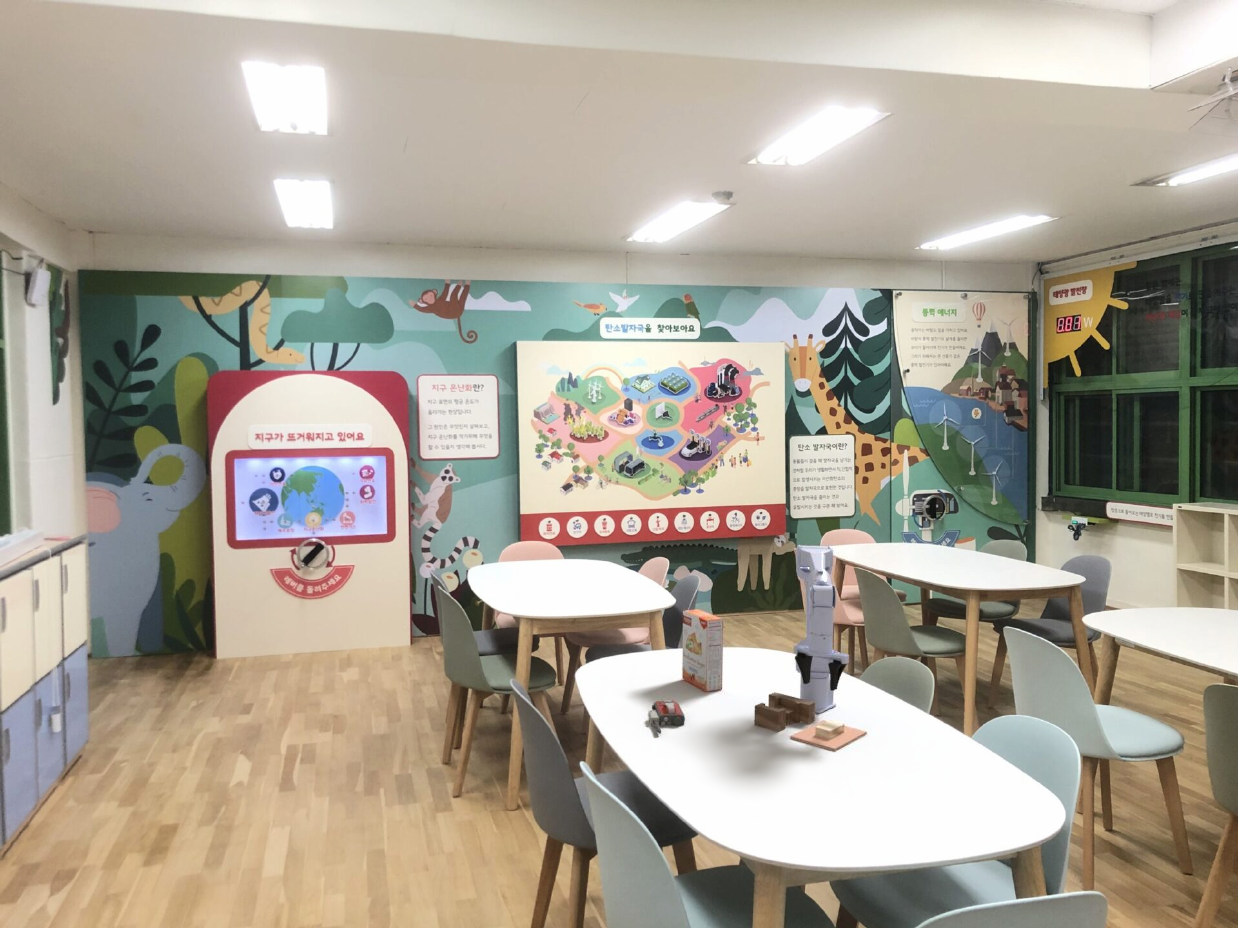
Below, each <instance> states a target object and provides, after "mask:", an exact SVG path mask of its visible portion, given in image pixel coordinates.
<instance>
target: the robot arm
mask: <svg viewBox="0 0 1238 928" xmlns="http://www.w3.org/2000/svg"><path fill="white" fill-rule="evenodd" d="M795 549H796V550H795V566H796V567H795V568H796V570H795V572H796V576H797V577H799V578H800V579H802V580H803V584H804V588H805V634H806V635H805V638H803V639H802V640H801V641H798V642H797V644H796V645H793V654H795V656H794V660H795V671H796V672H797V673H799V674H800V685H799V686H800V690H799V698H800V699H804V700H808V701H812V702H815V714H821V713H823V712H825V710H826V711H827V710H830V709H832V708H835V707H836V706H837V703H834V693H835V692H834V691H836V690H838V685H839V681H840V679H841V676H842V674H843V672H844V670H845V668H846V667H847V665H848V664H849V662H850V654H846V653H842V652H839V651H837V650H834V646H833V644H834V641H833V640H834V614H835V613H834V610H835V608H836V605H837V590H836V585H835V584H832V579H831V574H832V568H833V566H834V549H833V547H832V546H831V545H827V546H826V545H801V544H797V546H796V548H795Z"/></svg>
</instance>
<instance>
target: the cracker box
mask: <svg viewBox="0 0 1238 928" xmlns="http://www.w3.org/2000/svg"><path fill="white" fill-rule="evenodd" d="M723 652H724V618H721V617H720V616H716V615H715V614H712V613H709V612H707V611H704V610H703V609H698V608H697V609H688V610H687V609H686V610H683V611H682V662H681V663H682V669H681V670H682V673H681V674H682V676H681V677H682V678H681V679H682V680H684V681H686V682H688V683H689V684H691V685H693V686H695V687H697V688H698V689H700V690H701V691H704V692H705V693H708V692H714V691H721V690H723V671H724V670H723V668H724V667H723V663H724V661H723V660H724V659H723V656H724V654H723Z"/></svg>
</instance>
